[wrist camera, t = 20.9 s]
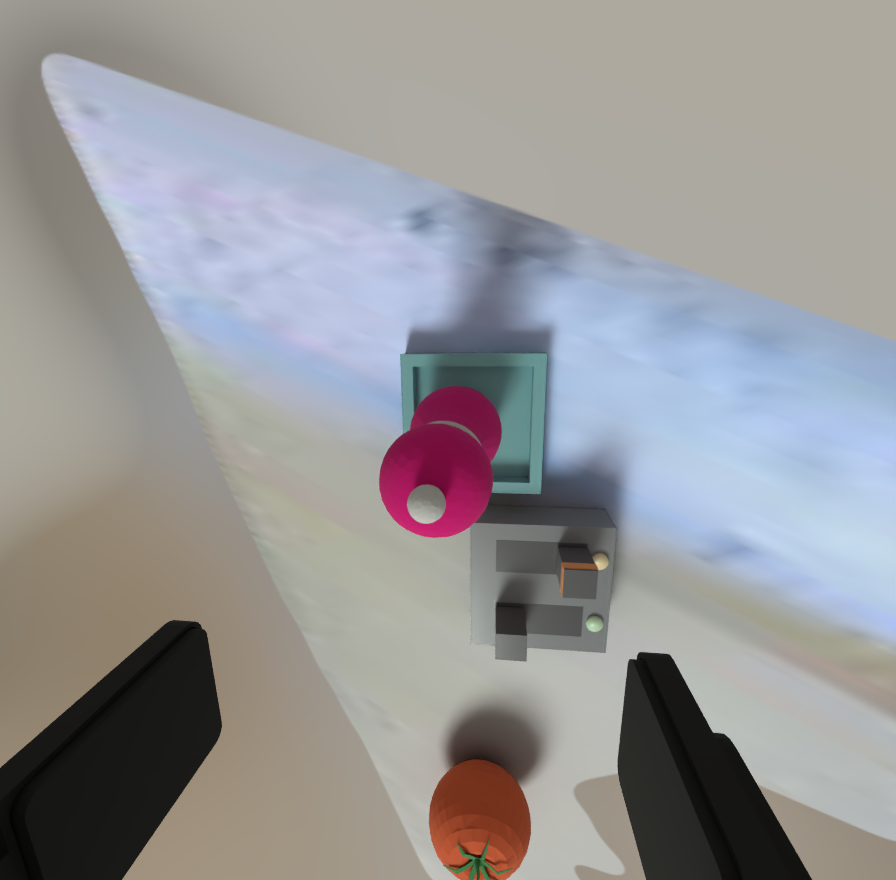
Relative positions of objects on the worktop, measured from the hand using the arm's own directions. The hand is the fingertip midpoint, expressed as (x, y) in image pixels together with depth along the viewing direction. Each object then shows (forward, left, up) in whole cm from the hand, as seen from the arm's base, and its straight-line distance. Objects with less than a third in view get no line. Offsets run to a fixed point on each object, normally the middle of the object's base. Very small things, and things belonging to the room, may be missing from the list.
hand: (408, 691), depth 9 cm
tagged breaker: (-8, +11, -26) cm, 29 cm away
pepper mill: (+1, 0, -30) cm, 30 cm away
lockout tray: (0, 0, -30) cm, 30 cm away
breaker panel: (-6, +14, -30) cm, 34 cm away
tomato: (-1, +40, -30) cm, 50 cm away
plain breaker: (-3, +17, -26) cm, 31 cm away
